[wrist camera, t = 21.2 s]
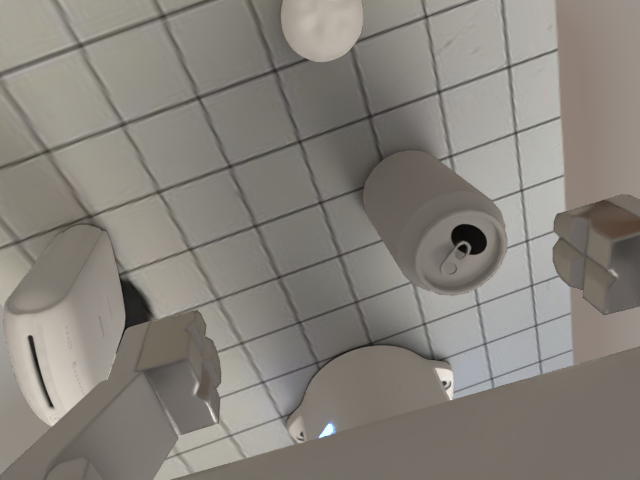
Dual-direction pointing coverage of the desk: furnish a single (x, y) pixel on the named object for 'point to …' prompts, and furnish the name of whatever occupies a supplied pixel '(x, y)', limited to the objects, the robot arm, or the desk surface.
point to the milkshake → (321, 27)
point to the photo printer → (65, 321)
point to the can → (434, 223)
